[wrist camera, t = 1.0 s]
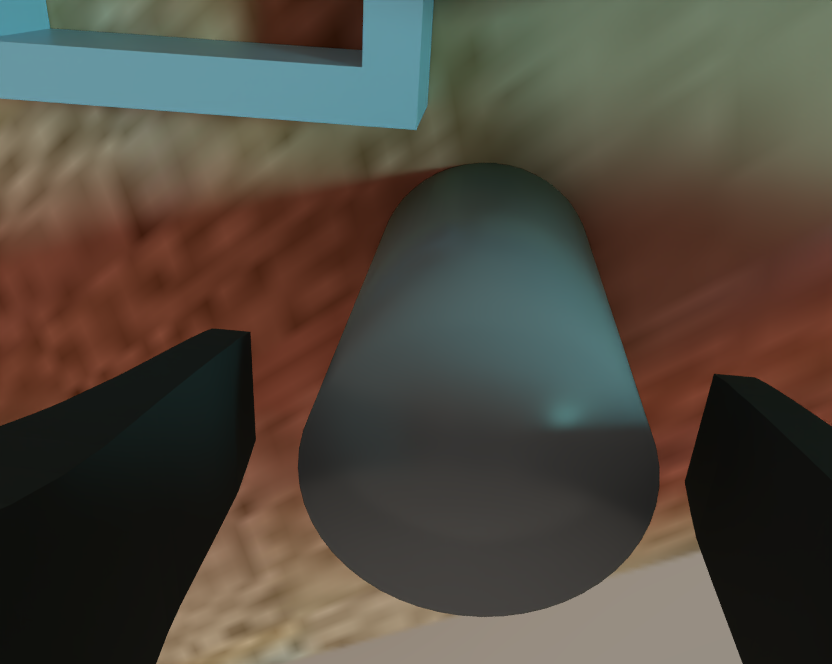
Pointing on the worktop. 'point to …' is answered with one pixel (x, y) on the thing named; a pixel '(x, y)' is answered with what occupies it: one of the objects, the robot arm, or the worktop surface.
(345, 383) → the dark grey rounded cylinder
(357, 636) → the worktop surface
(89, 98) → the light blue shallow tray
